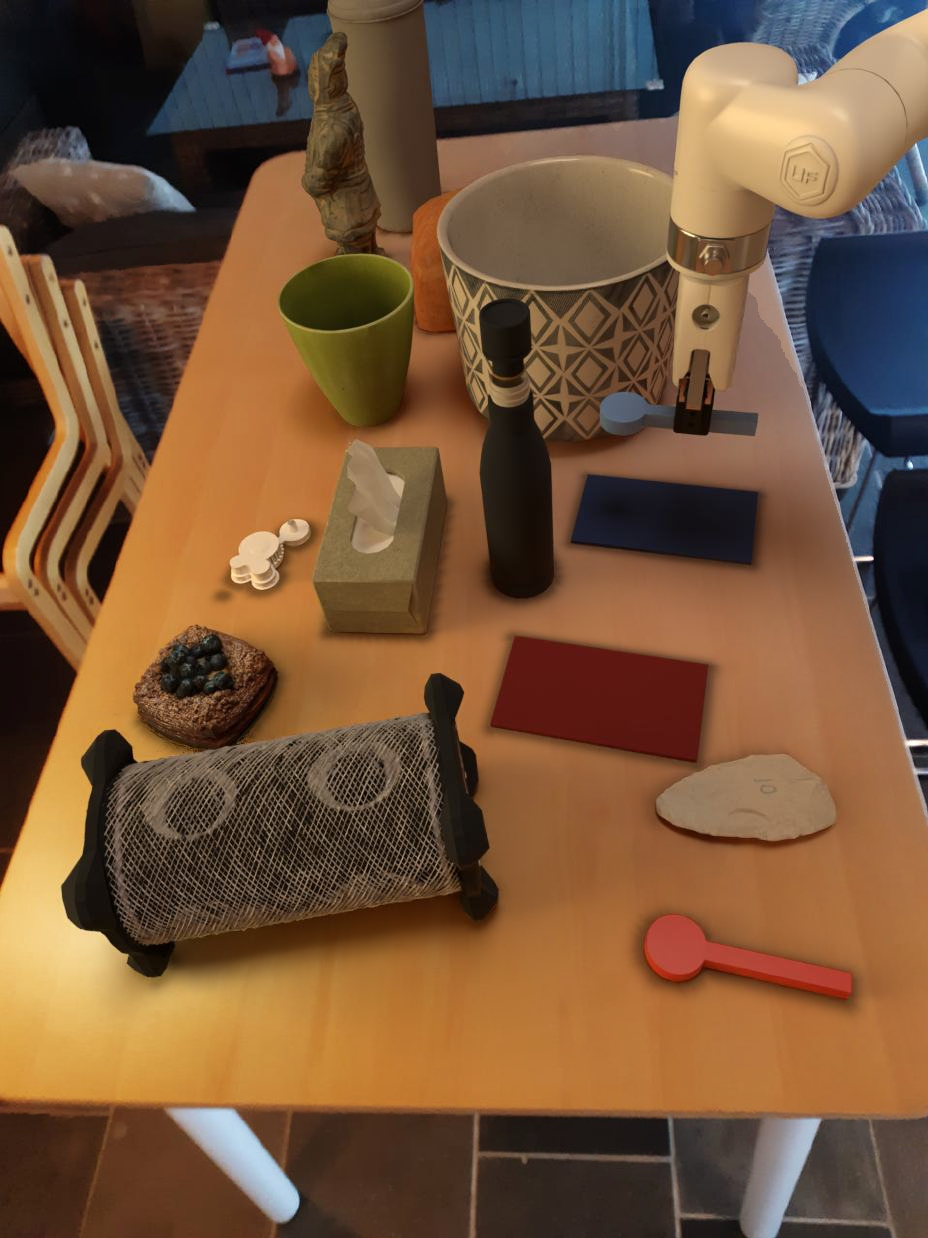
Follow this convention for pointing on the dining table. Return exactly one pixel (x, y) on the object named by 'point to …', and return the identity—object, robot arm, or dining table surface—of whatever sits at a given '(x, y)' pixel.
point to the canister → (392, 101)
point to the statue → (339, 156)
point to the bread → (430, 268)
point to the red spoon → (731, 959)
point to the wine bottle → (514, 459)
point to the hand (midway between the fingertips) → (691, 423)
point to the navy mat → (667, 518)
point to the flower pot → (353, 331)
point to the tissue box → (382, 540)
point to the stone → (750, 800)
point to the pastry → (206, 688)
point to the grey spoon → (664, 417)
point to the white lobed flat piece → (266, 554)
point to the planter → (567, 281)
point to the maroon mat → (603, 697)
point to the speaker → (278, 831)
